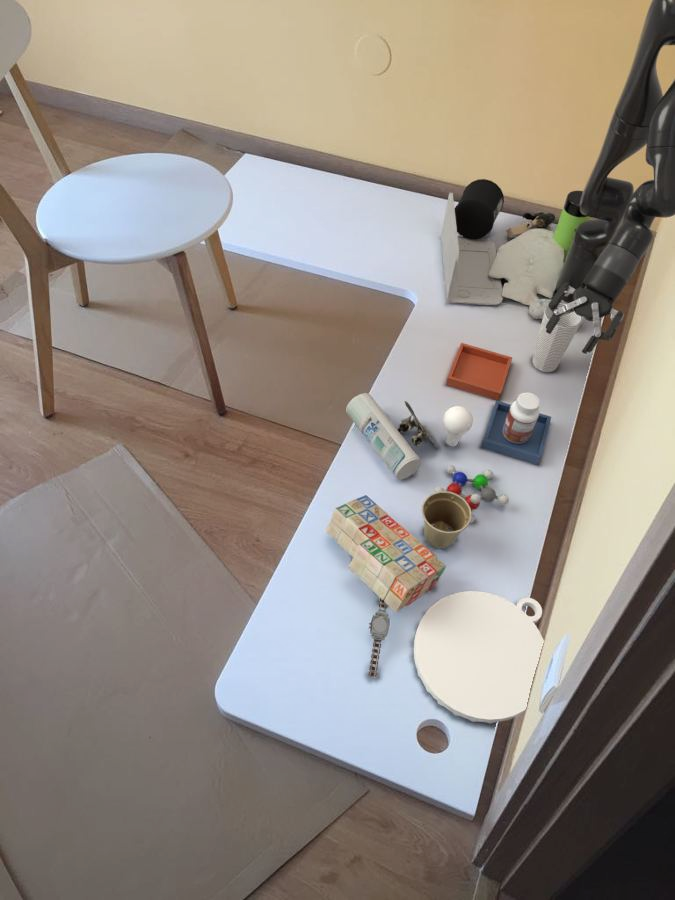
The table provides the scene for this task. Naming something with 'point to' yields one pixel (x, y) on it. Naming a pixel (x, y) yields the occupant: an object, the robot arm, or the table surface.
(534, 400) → the pill bottle
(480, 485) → the molecule model
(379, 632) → the wristwatch
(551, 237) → the grey flat irregular slab
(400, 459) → the spray can
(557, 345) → the cup
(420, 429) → the decorative picture frame
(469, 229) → the container
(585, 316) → the robot arm
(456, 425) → the lightbulb
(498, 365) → the red tray
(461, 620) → the medallion
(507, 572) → the table surface
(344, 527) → the stack of blocks
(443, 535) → the flower pot
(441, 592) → the table surface
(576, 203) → the tumbler
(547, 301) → the decorative stone
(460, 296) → the game console
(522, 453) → the blue tray
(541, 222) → the toy figure
